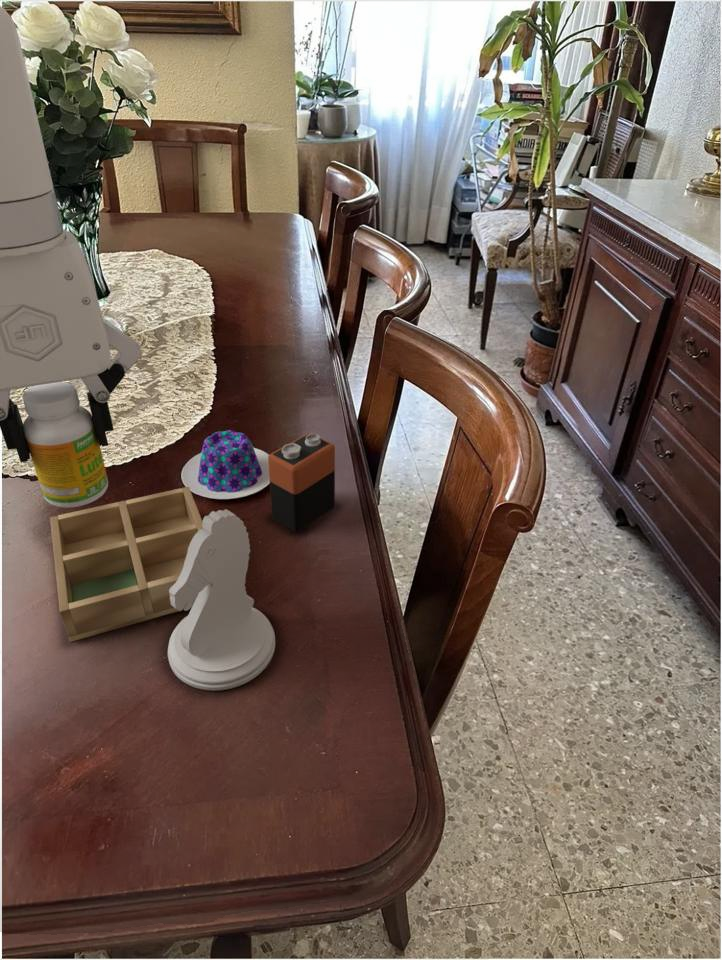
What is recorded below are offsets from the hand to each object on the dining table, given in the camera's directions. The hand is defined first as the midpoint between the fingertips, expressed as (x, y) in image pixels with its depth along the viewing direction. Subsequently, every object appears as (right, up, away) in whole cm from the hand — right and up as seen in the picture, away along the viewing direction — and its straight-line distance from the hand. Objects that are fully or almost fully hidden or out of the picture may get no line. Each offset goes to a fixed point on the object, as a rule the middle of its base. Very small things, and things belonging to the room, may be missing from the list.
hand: (64, 443), depth 55 cm
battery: (+18, -7, +23) cm, 30 cm away
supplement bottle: (0, -4, +3) cm, 5 cm away
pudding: (+8, -3, +29) cm, 31 cm away
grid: (+1, -13, +15) cm, 19 cm away
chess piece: (+12, -19, +7) cm, 23 cm away
